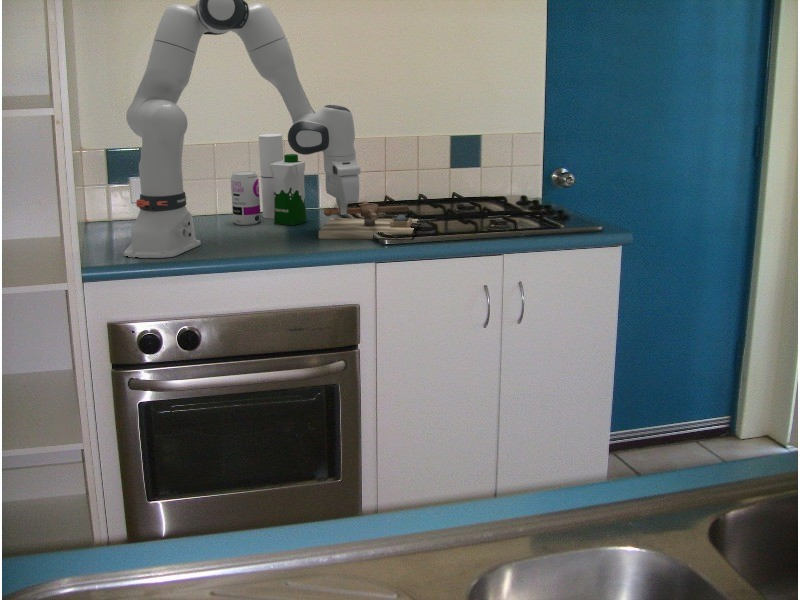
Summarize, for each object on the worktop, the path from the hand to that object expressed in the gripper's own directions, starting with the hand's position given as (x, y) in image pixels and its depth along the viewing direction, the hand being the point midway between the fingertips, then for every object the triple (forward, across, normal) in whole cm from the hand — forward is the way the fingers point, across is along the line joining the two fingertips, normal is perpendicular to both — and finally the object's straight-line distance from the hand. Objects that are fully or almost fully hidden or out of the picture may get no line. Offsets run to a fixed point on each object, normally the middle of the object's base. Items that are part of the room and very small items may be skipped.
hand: (342, 214), depth 257 cm
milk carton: (+6, -23, -10) cm, 26 cm away
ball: (+3, +4, +16) cm, 17 cm away
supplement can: (+6, -28, -22) cm, 36 cm away
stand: (+6, 0, +8) cm, 10 cm away
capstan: (+1, -1, +7) cm, 7 cm away
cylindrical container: (+6, -34, -12) cm, 37 cm away
